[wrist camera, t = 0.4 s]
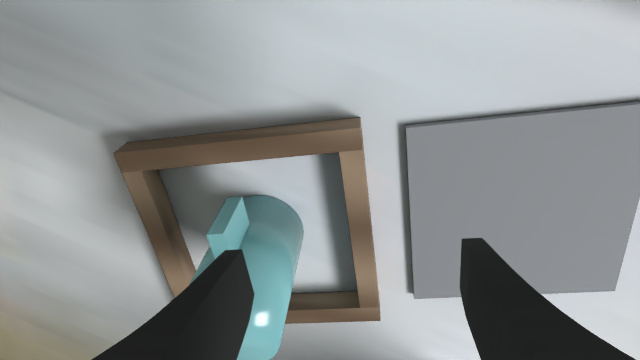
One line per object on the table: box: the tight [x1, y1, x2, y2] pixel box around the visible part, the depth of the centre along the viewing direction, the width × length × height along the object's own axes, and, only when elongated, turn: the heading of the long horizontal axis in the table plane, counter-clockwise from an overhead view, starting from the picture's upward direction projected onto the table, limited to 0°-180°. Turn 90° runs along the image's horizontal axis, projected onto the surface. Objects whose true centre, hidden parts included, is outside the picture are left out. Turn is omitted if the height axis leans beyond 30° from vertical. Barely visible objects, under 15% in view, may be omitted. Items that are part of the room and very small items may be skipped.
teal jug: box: [189, 195, 304, 360], centre depth 21 cm, size 7×5×8 cm
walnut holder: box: [113, 117, 380, 324], centre depth 25 cm, size 13×13×2 cm
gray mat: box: [405, 101, 640, 299], centre depth 23 cm, size 12×12×1 cm
